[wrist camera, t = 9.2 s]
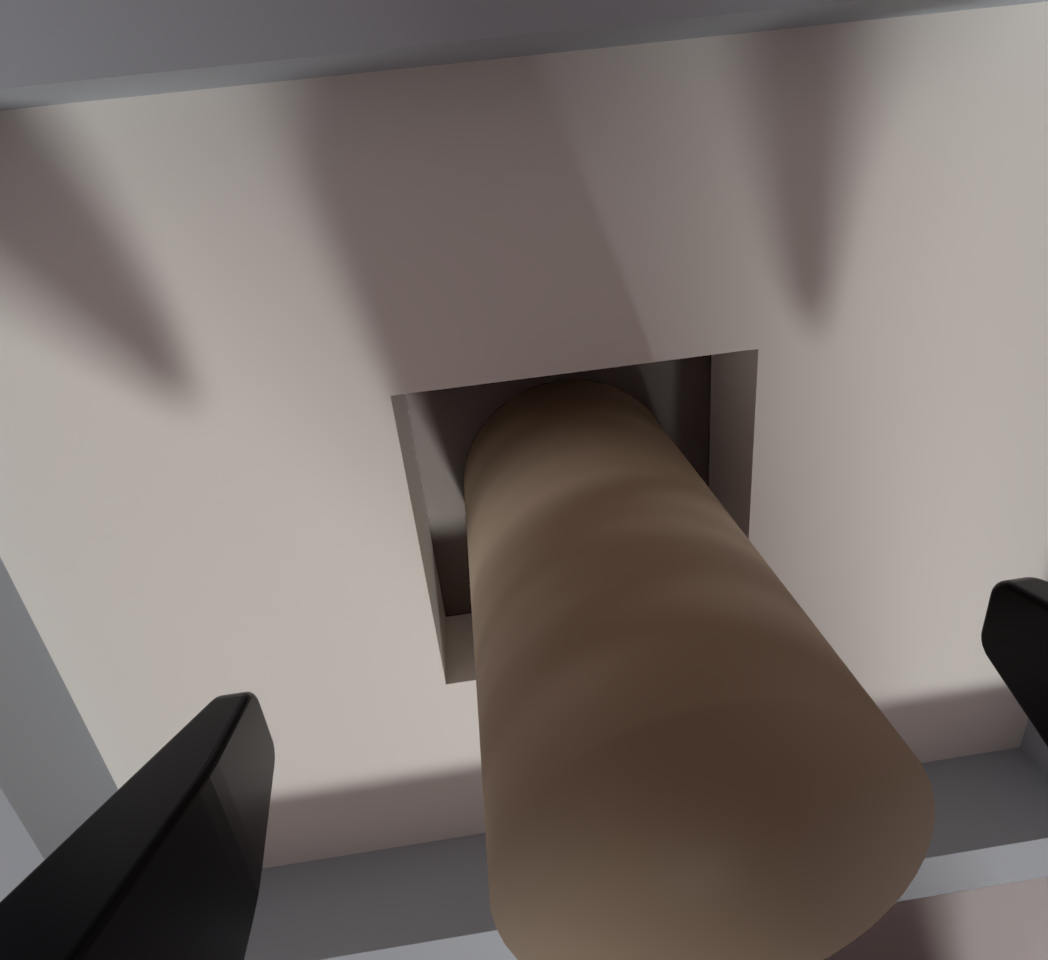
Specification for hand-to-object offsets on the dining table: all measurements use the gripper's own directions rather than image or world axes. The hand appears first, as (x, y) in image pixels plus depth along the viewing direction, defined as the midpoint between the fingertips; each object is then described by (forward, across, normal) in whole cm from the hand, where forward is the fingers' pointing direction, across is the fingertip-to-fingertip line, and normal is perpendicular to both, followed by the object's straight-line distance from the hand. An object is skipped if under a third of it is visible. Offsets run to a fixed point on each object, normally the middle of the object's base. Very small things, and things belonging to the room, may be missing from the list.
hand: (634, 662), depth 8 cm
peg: (+5, 0, 0) cm, 5 cm away
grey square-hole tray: (+5, 0, 0) cm, 5 cm away
